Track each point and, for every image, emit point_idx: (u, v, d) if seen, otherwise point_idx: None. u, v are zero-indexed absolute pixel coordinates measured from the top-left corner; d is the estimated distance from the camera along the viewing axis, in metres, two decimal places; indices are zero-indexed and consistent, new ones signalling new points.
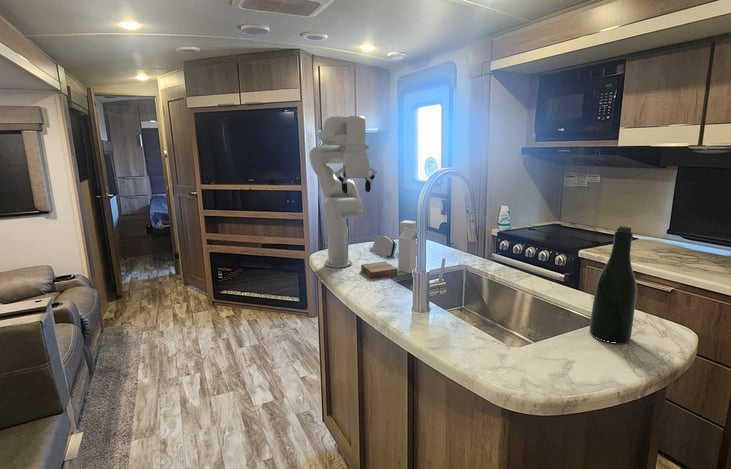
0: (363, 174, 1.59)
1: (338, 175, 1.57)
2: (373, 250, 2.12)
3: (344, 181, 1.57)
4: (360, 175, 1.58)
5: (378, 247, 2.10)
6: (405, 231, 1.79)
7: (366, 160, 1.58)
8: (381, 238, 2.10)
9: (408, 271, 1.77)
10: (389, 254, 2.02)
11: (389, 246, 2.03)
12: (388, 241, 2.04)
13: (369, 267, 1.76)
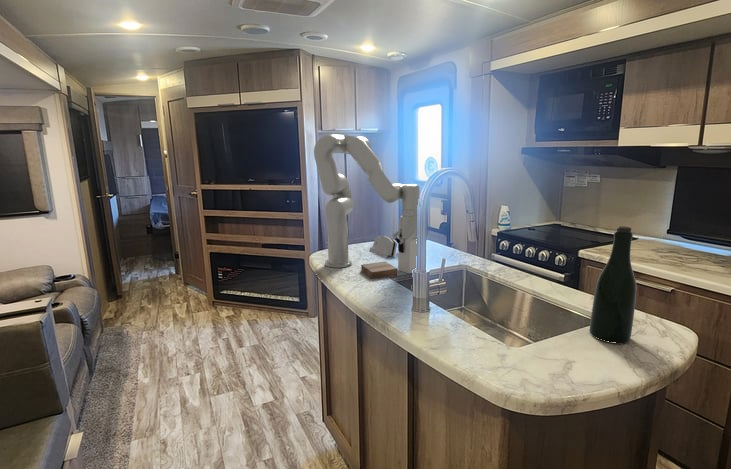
0: None
1: (395, 237, 1.74)
2: (373, 250, 2.12)
3: (401, 242, 1.75)
4: (415, 236, 1.76)
5: (378, 247, 2.10)
6: None
7: None
8: (381, 238, 2.10)
9: (408, 271, 1.77)
10: (390, 254, 2.02)
11: (389, 246, 2.03)
12: (388, 241, 2.05)
13: (369, 267, 1.76)
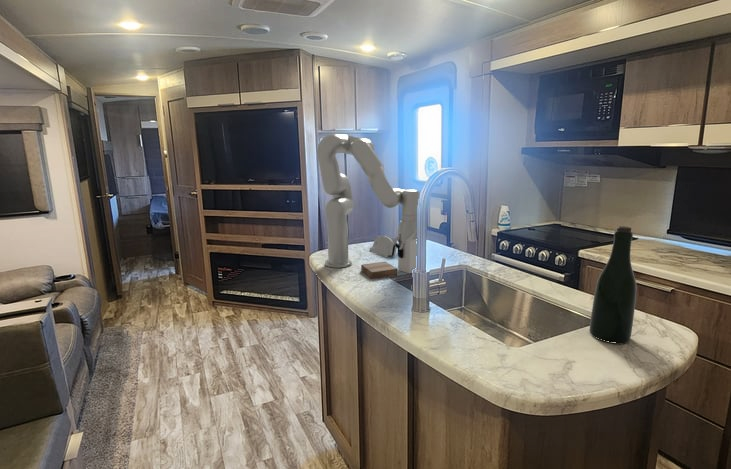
0: None
1: (395, 242, 1.75)
2: (373, 250, 2.12)
3: (400, 247, 1.75)
4: None
5: (378, 247, 2.11)
6: None
7: None
8: (381, 238, 2.10)
9: (408, 271, 1.77)
10: (390, 254, 2.02)
11: (390, 246, 2.03)
12: (389, 241, 2.05)
13: (369, 267, 1.76)
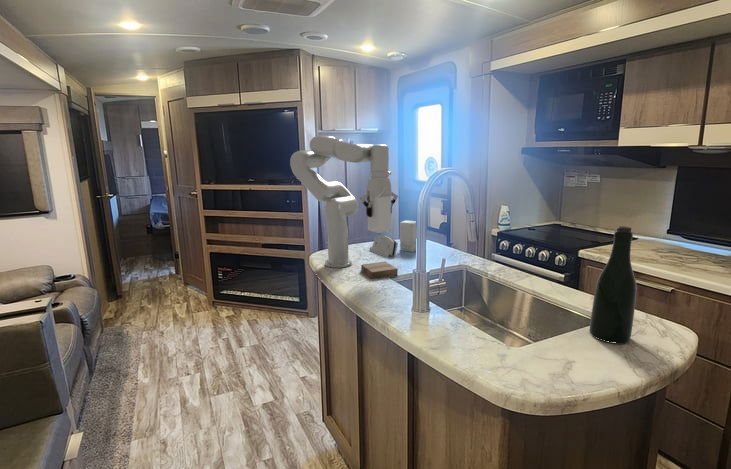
0: None
1: (363, 200, 1.67)
2: (373, 250, 2.12)
3: (369, 206, 1.68)
4: None
5: (378, 247, 2.11)
6: None
7: (389, 185, 1.68)
8: (381, 237, 2.11)
9: (377, 230, 1.69)
10: (390, 254, 2.03)
11: (390, 246, 2.03)
12: (389, 241, 2.05)
13: (369, 267, 1.76)
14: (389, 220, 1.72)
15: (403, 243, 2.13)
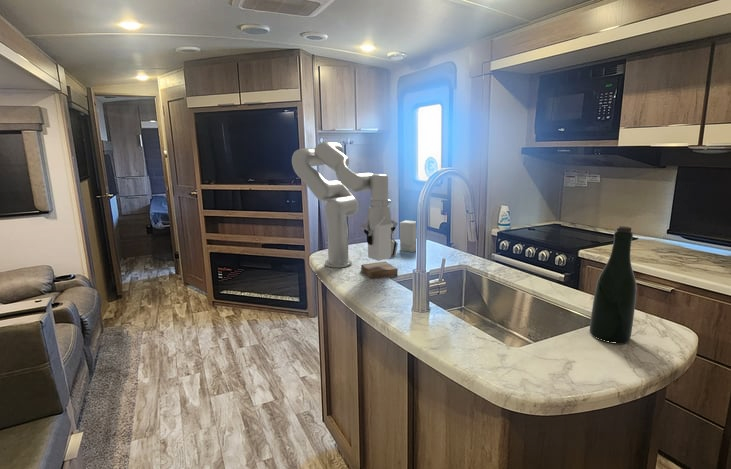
0: None
1: (363, 229, 1.70)
2: None
3: (369, 234, 1.70)
4: None
5: None
6: None
7: (388, 214, 1.71)
8: None
9: (377, 258, 1.71)
10: (391, 253, 2.03)
11: None
12: None
13: (369, 267, 1.76)
14: (389, 248, 1.74)
15: (403, 243, 2.13)
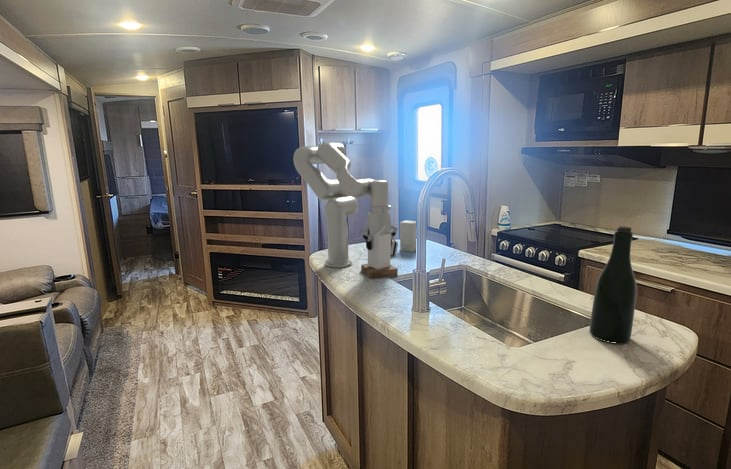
0: None
1: (363, 234, 1.70)
2: None
3: (368, 239, 1.71)
4: None
5: None
6: None
7: (388, 220, 1.72)
8: None
9: (376, 267, 1.73)
10: (391, 253, 2.03)
11: (391, 245, 2.04)
12: None
13: (369, 267, 1.76)
14: (389, 257, 1.75)
15: (403, 243, 2.13)
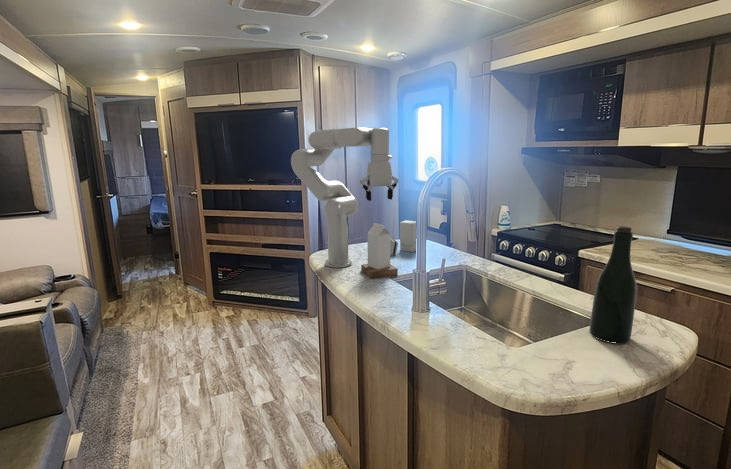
0: (386, 183, 1.68)
1: (363, 183, 1.66)
2: None
3: (368, 189, 1.67)
4: (383, 183, 1.68)
5: None
6: (374, 226, 1.75)
7: (389, 169, 1.67)
8: None
9: (376, 267, 1.73)
10: (391, 253, 2.03)
11: (391, 245, 2.04)
12: None
13: (369, 267, 1.76)
14: (388, 257, 1.75)
15: (403, 243, 2.13)
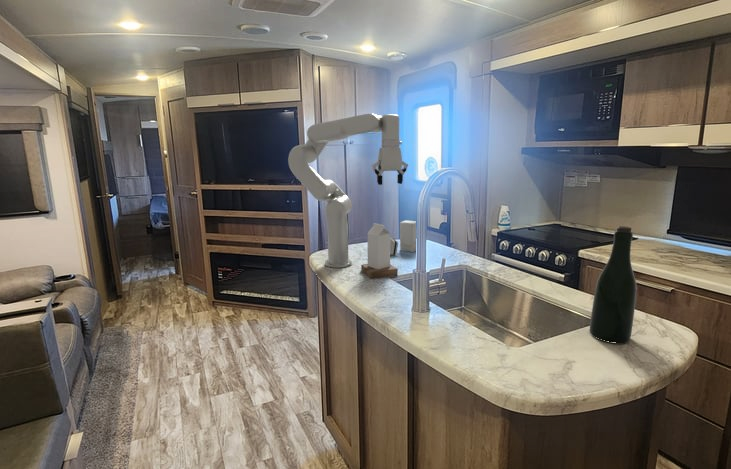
0: (397, 167, 1.75)
1: (374, 168, 1.73)
2: None
3: (380, 173, 1.73)
4: (394, 168, 1.74)
5: None
6: (374, 226, 1.75)
7: (399, 154, 1.74)
8: None
9: (376, 267, 1.73)
10: (392, 253, 2.03)
11: (391, 245, 2.04)
12: None
13: (369, 267, 1.76)
14: (388, 257, 1.75)
15: (403, 243, 2.13)
